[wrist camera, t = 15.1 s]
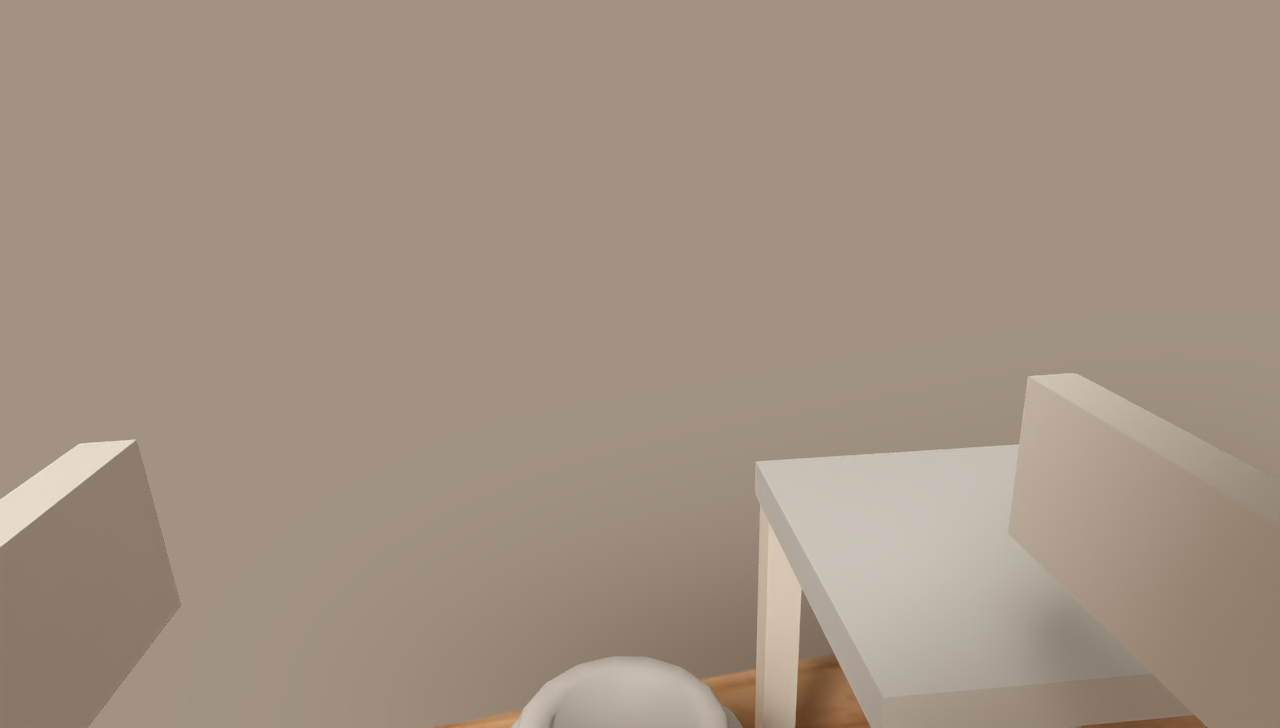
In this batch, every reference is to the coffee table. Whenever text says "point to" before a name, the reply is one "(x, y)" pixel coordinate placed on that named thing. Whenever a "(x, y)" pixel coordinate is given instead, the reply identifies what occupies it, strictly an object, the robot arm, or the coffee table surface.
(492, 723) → the coffee table surface
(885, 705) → the white stool
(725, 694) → the coffee table surface
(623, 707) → the coffee cup
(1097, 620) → the robot arm
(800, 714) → the coffee table surface
